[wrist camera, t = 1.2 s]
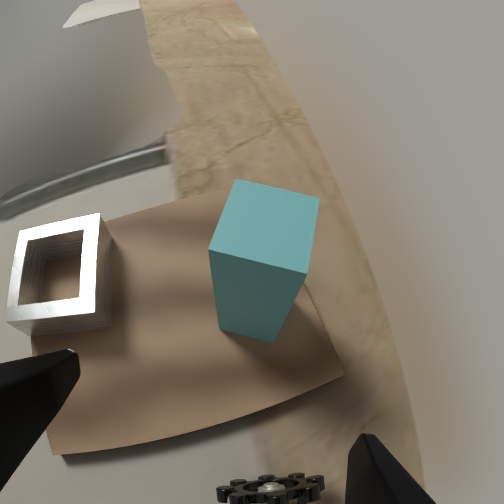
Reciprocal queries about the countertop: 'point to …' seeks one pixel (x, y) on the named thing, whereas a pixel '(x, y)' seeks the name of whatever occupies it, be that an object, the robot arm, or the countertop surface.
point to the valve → (272, 490)
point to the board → (172, 339)
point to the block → (260, 257)
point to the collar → (91, 283)
